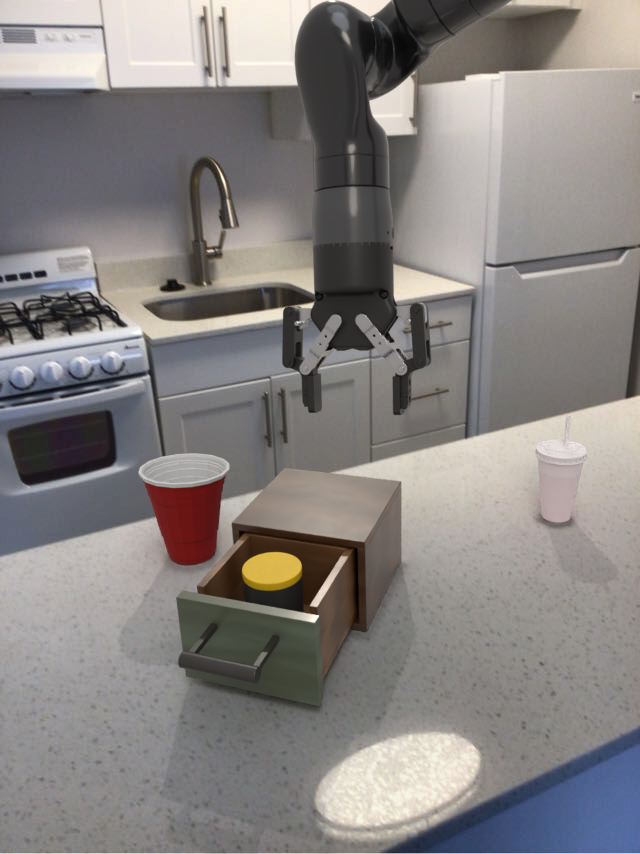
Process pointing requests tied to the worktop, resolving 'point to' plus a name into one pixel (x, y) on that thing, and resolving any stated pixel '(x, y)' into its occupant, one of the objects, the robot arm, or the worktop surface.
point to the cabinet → (335, 524)
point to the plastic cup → (186, 502)
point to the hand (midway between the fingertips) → (356, 413)
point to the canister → (274, 581)
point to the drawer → (269, 621)
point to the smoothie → (559, 475)
